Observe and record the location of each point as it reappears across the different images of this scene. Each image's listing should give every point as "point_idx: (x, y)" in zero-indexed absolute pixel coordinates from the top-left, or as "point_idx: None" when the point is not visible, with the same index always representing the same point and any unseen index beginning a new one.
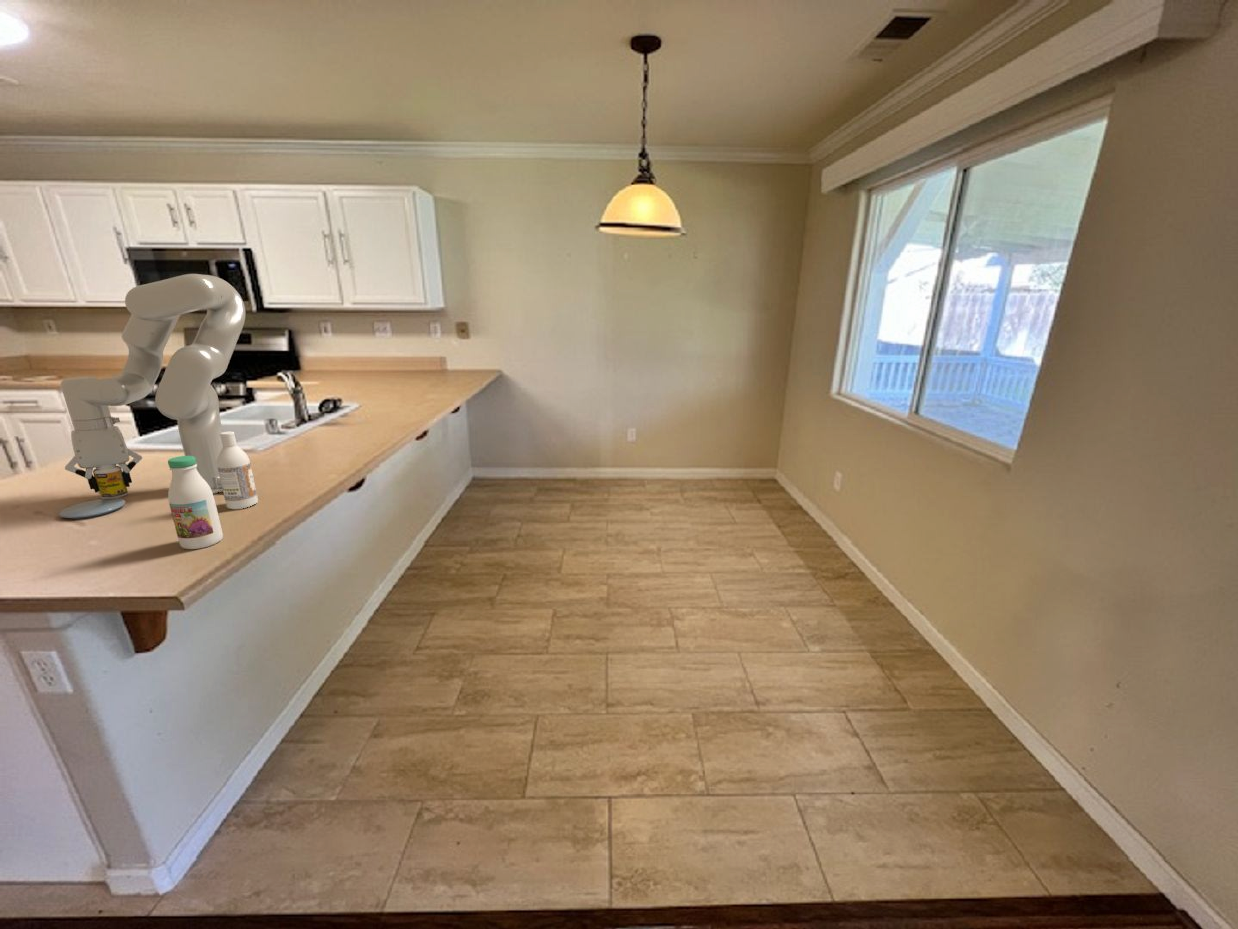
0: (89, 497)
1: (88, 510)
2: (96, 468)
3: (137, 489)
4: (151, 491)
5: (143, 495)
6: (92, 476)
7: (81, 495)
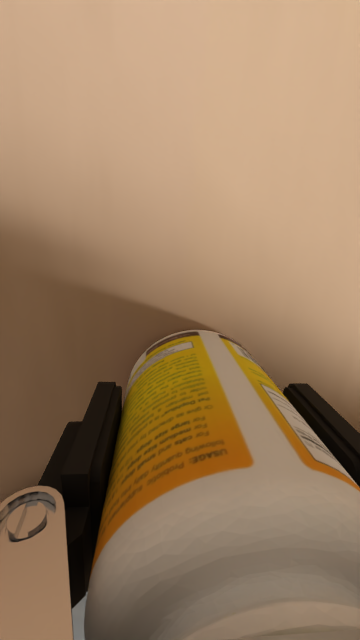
0: (69, 296)
1: (77, 634)
2: (132, 611)
3: (313, 315)
4: (349, 415)
5: None
6: (81, 585)
7: (17, 193)
